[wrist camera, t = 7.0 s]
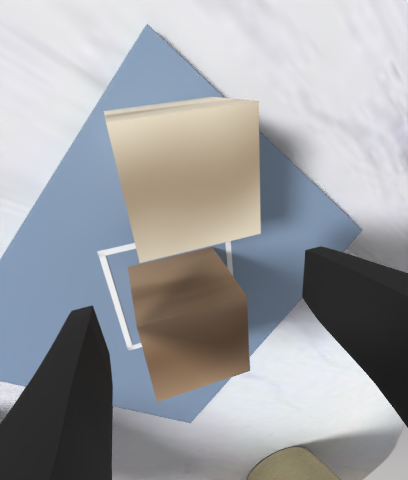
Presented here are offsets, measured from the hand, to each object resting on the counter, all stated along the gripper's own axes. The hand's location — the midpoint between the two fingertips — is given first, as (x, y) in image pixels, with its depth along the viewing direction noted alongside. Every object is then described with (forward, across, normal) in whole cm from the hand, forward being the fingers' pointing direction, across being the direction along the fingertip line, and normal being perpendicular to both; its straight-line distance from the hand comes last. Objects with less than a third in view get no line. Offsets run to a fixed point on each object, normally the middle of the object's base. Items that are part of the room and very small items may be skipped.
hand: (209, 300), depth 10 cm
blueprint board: (+6, 0, +4) cm, 7 cm away
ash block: (+6, 0, -3) cm, 7 cm away
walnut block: (+6, 0, +4) cm, 7 cm away
